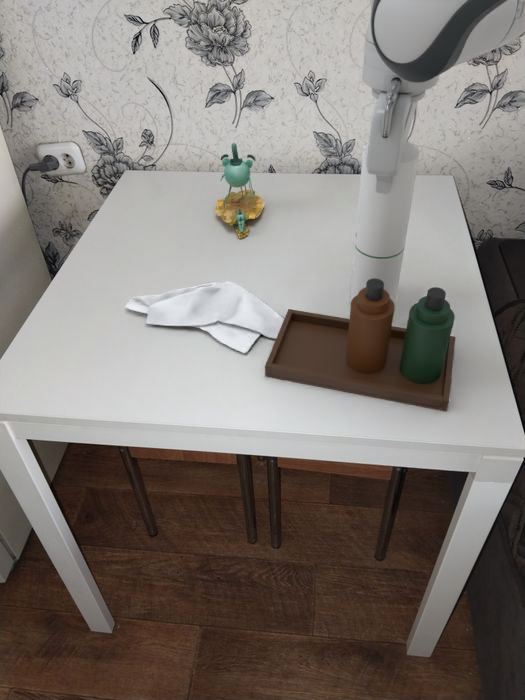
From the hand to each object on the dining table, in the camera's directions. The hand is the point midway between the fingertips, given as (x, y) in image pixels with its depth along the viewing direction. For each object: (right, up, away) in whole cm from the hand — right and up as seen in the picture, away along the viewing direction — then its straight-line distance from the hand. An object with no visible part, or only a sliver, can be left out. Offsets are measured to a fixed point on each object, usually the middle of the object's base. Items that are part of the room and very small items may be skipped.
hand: (388, 174), depth 78 cm
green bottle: (+5, -26, +4) cm, 27 cm away
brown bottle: (-2, -25, +5) cm, 25 cm away
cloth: (-24, -17, +14) cm, 33 cm away
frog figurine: (-21, +3, +36) cm, 41 cm away
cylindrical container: (+1, -16, +15) cm, 22 cm away
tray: (-3, -25, +6) cm, 26 cm away
